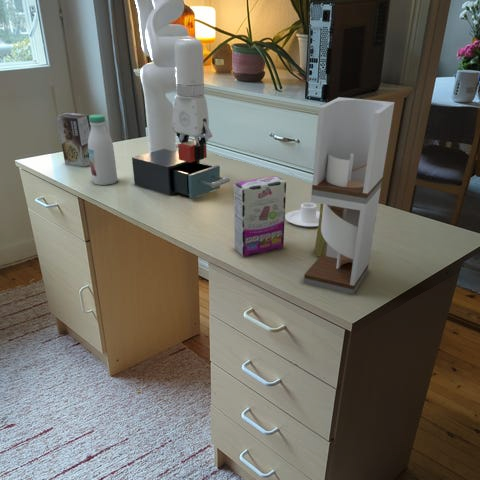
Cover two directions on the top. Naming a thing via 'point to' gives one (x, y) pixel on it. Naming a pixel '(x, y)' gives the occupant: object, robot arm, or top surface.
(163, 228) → the top surface
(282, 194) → the candy bar box
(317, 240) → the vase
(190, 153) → the package
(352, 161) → the tall two-tier shelf
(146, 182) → the cabinet
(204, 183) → the drawer
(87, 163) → the printed cardboard box
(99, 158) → the milk bottle
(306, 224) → the candle holder
